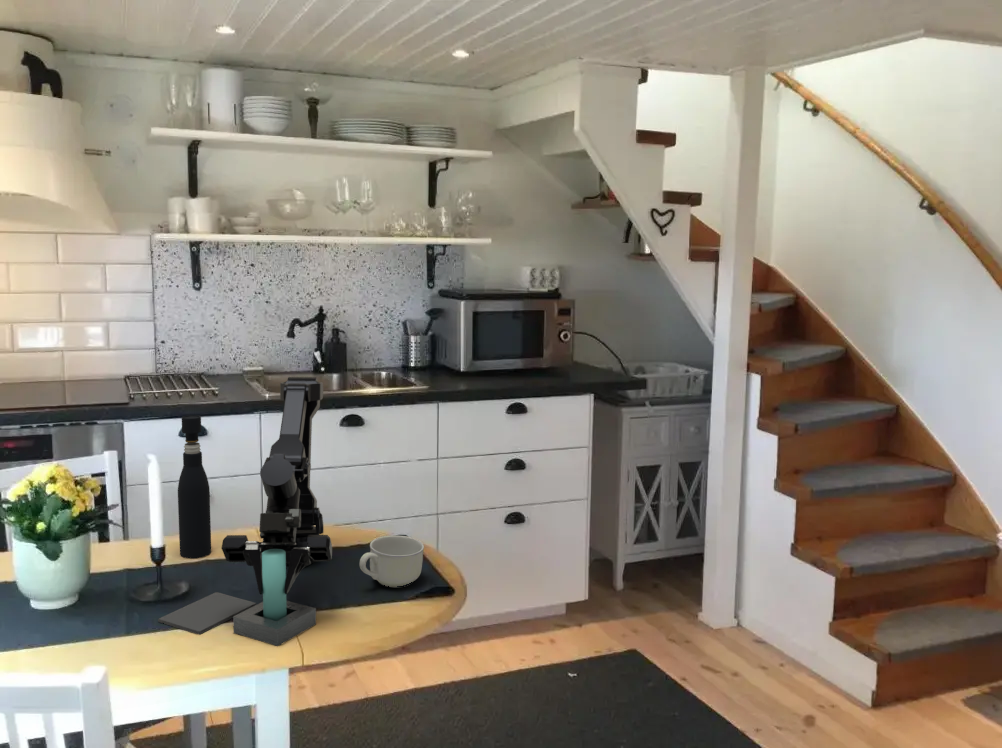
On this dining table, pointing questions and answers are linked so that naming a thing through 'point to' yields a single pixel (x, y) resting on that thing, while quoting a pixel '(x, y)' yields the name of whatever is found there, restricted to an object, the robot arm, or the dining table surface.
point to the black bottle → (193, 495)
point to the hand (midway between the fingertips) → (273, 593)
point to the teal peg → (274, 584)
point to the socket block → (274, 623)
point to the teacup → (394, 560)
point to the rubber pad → (206, 613)
